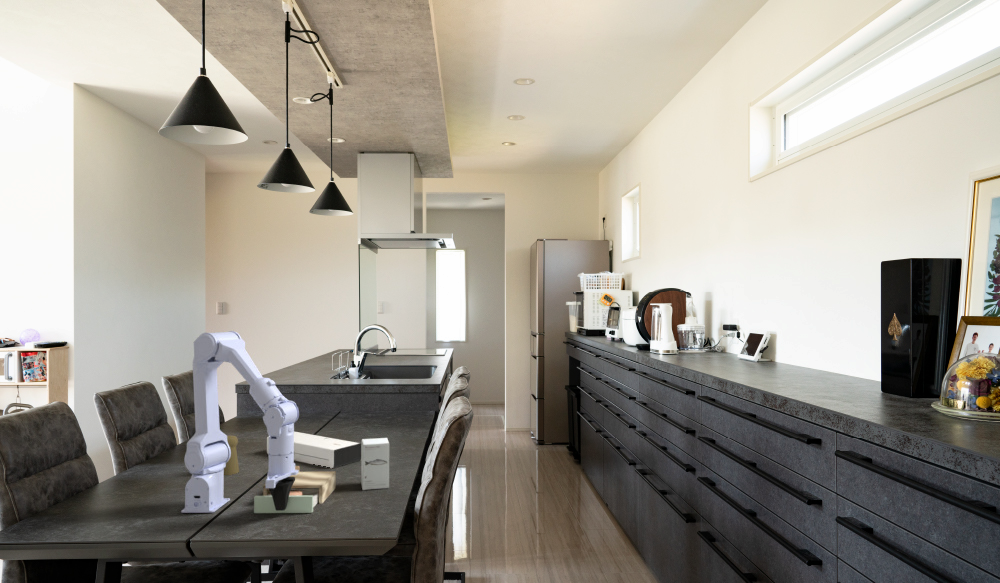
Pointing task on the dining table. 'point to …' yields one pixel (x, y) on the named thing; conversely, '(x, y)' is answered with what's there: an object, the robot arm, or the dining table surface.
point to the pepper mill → (232, 457)
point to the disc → (295, 492)
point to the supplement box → (374, 463)
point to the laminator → (324, 450)
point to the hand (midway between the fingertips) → (280, 509)
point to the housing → (313, 483)
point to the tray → (289, 502)
